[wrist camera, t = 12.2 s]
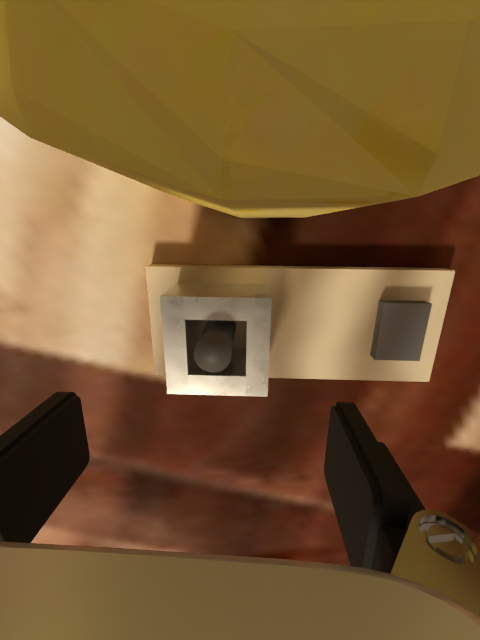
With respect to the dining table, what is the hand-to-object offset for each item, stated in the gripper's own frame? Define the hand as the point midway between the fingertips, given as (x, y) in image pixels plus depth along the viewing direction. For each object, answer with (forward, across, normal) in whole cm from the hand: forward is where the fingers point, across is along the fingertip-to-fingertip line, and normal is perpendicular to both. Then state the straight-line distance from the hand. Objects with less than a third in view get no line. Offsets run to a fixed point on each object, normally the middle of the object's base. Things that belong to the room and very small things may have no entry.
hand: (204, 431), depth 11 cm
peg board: (+11, -4, -1) cm, 12 cm away
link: (+10, 0, -1) cm, 10 cm away
